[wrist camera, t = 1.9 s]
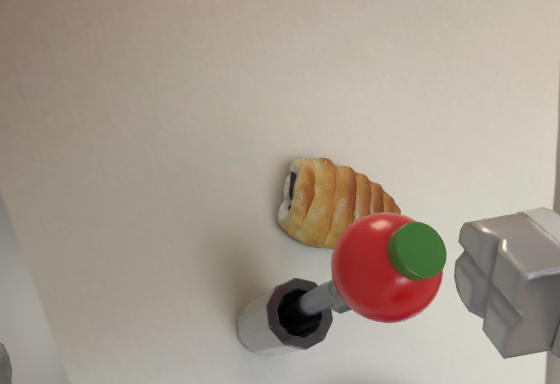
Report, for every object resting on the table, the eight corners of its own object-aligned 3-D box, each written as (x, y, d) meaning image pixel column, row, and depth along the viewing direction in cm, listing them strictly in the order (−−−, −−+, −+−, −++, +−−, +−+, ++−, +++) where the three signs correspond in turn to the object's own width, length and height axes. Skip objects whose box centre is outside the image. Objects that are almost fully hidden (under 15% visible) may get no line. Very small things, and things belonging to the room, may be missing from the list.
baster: (280, 368, 33) (463, 332, 16) (224, 343, 33) (351, 277, 16) (301, 311, 35) (482, 223, 18) (248, 286, 35) (383, 172, 18)
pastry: (392, 188, 41) (415, 171, 38) (386, 267, 39) (411, 257, 35) (284, 160, 39) (298, 140, 36) (271, 241, 37) (284, 228, 33)
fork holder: (261, 366, 34) (301, 364, 25) (225, 325, 34) (252, 309, 26) (297, 329, 35) (346, 316, 27) (262, 289, 35) (299, 264, 27)
